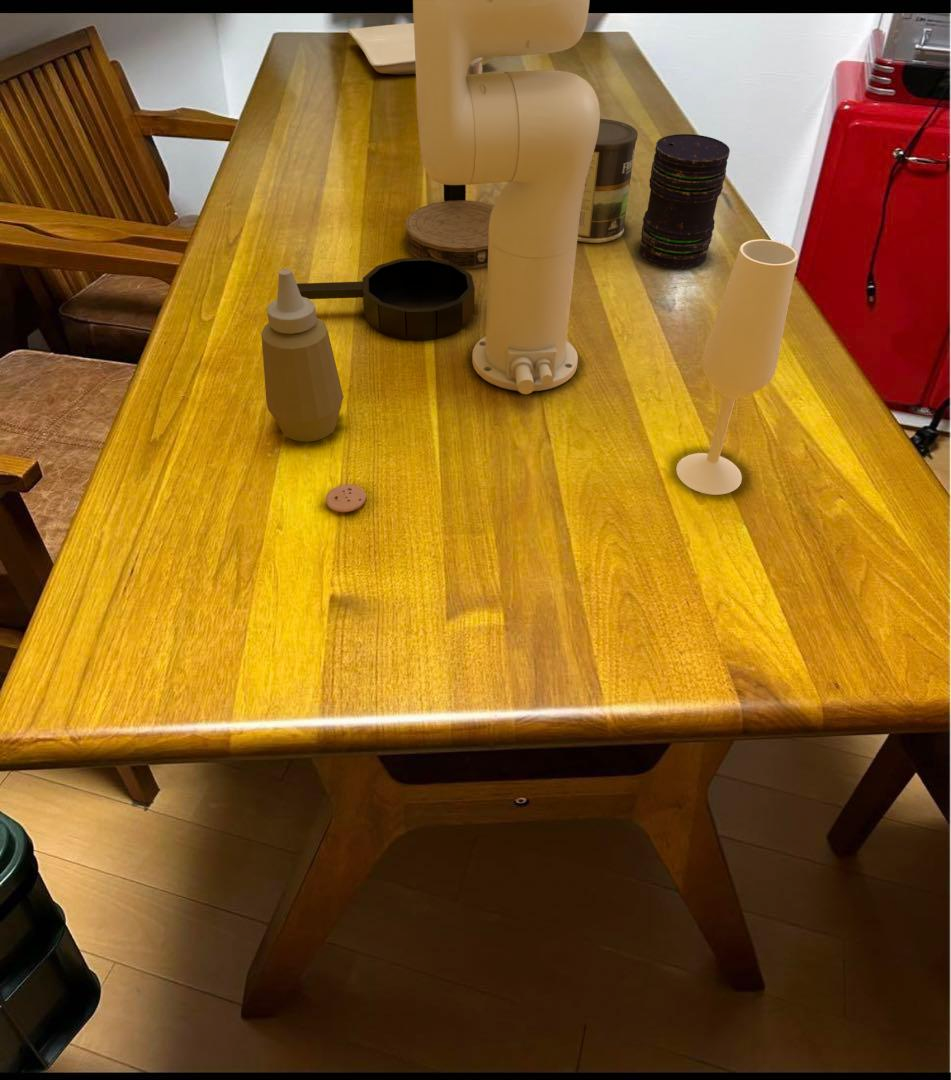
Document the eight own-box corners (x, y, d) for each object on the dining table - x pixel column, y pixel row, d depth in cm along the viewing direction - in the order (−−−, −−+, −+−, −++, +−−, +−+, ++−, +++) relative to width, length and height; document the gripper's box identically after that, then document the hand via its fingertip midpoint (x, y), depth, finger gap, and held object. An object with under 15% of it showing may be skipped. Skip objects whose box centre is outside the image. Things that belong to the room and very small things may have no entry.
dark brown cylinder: (710, 244, 125) (733, 138, 114) (704, 274, 118) (728, 165, 107) (642, 235, 127) (659, 130, 116) (633, 264, 120) (650, 155, 109)
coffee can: (626, 217, 131) (640, 121, 121) (621, 246, 124) (635, 147, 114) (560, 210, 132) (568, 115, 122) (551, 239, 125) (559, 140, 115)
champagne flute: (662, 472, 87) (711, 251, 70) (700, 444, 91) (755, 227, 74) (717, 504, 84) (783, 279, 67) (754, 474, 87) (825, 253, 70)
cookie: (375, 499, 83) (374, 492, 83) (344, 520, 81) (343, 512, 80) (348, 482, 85) (347, 474, 84) (317, 502, 83) (316, 494, 82)
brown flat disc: (517, 222, 129) (518, 202, 127) (512, 271, 118) (513, 251, 116) (414, 217, 130) (413, 197, 128) (399, 265, 118) (398, 245, 116)
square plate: (347, 45, 195) (346, 26, 192) (461, 38, 201) (461, 19, 198) (373, 81, 176) (372, 61, 174) (497, 72, 182) (498, 52, 180)
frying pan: (478, 338, 105) (478, 309, 102) (282, 345, 103) (278, 316, 100) (468, 283, 115) (468, 255, 112) (289, 289, 113) (285, 261, 110)
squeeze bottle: (311, 396, 96) (288, 244, 83) (362, 424, 92) (346, 269, 80) (255, 429, 91) (223, 273, 79) (306, 460, 88) (281, 302, 75)
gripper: (424, 55, 121) (427, 183, 134) (430, 91, 110) (433, 226, 124) (477, 54, 121) (474, 182, 135) (487, 91, 111) (483, 225, 124)
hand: (454, 203), depth 129 cm, fingers closed
